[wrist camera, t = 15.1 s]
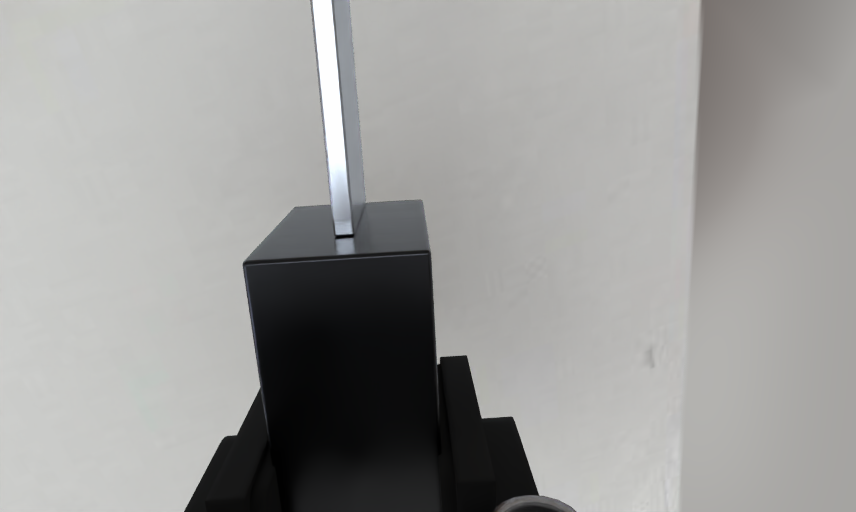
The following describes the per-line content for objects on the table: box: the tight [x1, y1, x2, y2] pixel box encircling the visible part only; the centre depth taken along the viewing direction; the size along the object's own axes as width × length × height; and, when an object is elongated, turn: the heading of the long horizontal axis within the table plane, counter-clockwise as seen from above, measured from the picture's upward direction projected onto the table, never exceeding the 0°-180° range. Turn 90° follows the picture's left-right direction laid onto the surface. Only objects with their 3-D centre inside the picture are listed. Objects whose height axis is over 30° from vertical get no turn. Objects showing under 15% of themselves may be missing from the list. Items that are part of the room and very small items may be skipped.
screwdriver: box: [243, 0, 442, 512], centre depth 9 cm, size 19×2×4 cm, turn 3°
